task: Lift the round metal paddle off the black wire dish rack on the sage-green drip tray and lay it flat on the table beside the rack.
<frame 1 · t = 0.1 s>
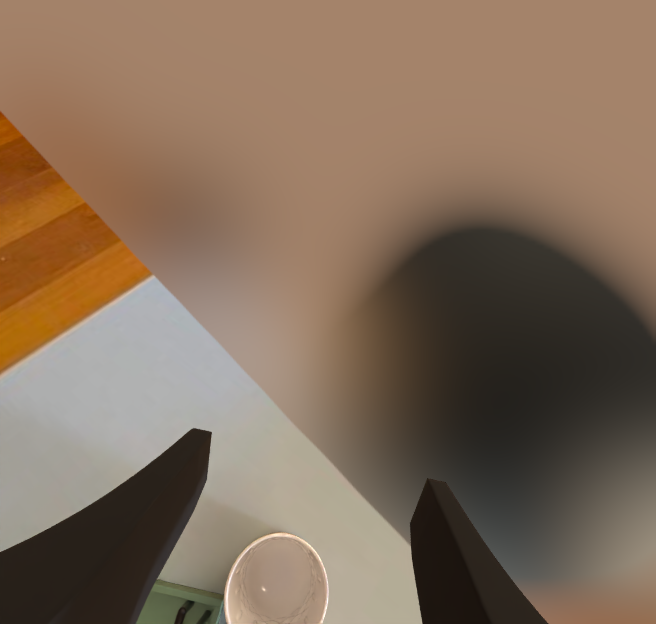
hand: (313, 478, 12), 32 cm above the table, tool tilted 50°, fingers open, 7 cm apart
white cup: (278, 571, 38), on the table
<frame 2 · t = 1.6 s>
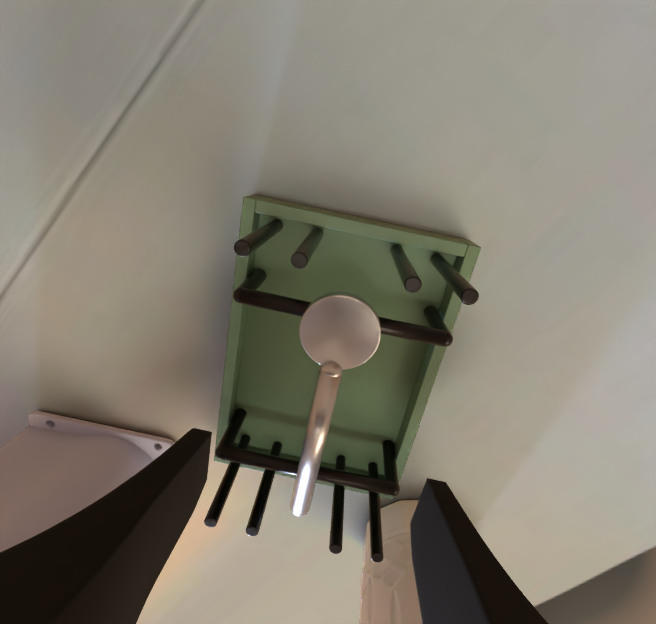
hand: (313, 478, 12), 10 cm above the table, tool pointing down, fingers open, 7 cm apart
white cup: (413, 532, 26), on the table
drip tray: (331, 353, 21), on the table
dish rack: (326, 387, 18), in the drip tray, point 4 cm above the table
round metal paddle: (323, 401, 17), point 4 cm above the table, touching dish rack
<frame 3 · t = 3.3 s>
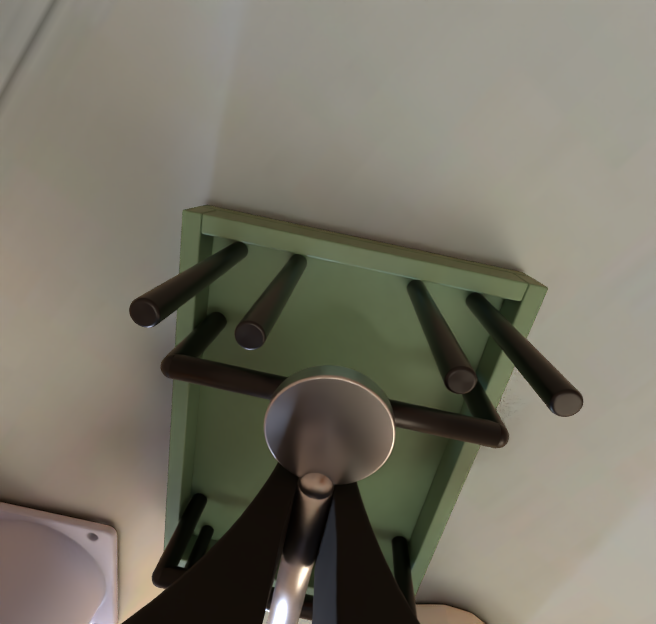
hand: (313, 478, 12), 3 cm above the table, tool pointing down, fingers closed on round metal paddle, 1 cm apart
drip tray: (321, 423, 15), on the table
dish rack: (310, 493, 12), in the drip tray, point 4 cm above the table
round metal paddle: (305, 520, 12), point 4 cm above the table, touching dish rack, gripper
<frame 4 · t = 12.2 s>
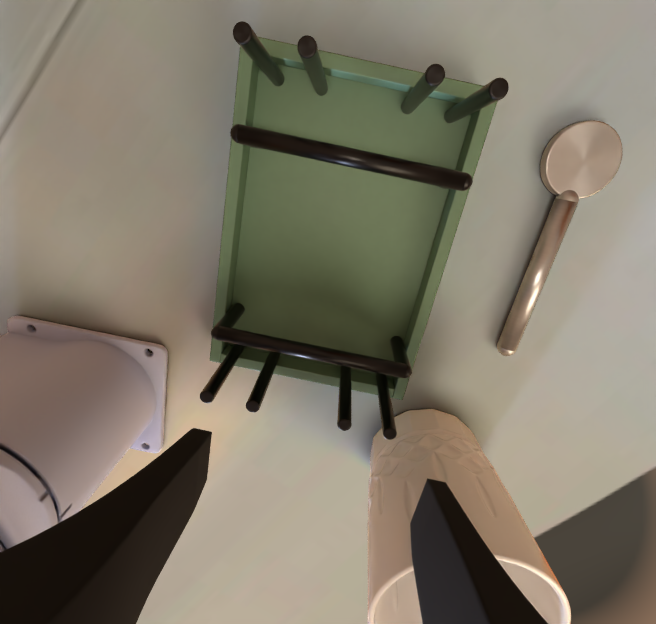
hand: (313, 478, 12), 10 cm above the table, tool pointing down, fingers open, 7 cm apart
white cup: (421, 449, 25), on the table
drip tray: (335, 238, 20), on the table
dish rack: (332, 252, 17), in the drip tray, point 4 cm above the table
round metal paddle: (545, 239, 19), on the table
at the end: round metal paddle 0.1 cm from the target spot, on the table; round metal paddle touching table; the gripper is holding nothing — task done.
